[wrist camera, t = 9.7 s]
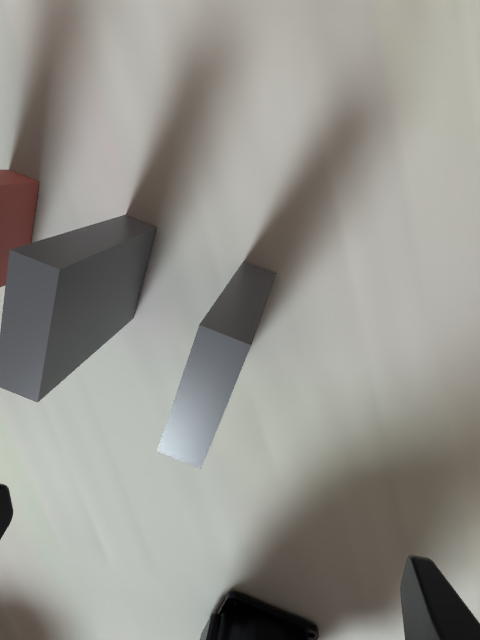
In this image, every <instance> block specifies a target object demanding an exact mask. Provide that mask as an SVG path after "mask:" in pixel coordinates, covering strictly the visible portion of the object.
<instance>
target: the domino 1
mask: <svg viewBox="0 0 480 640" xmlns="http://www.w3.org/2000/svg"><path fill="white" fill-rule="evenodd" d="M38 189H39V182H38V181H36V180H33V179H31V178H28V177H26V176H23V175H21V174H18V173H16V172H13V171H11V170H0V287H2V286H4V285H6V278H7V269H8V260H9V251H10V249H14V248H17V247H20V246H24V245H27V244H30V243H31V240H32V233H33V225H34V218H35V211H36V204H37V197H38Z"/></svg>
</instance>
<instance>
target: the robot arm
mask: <svg viewBox="0 0 480 640" xmlns="http://www.w3.org/2000/svg"><path fill="white" fill-rule="evenodd" d="M12 517H13V507H12V502H11V497H10V492H9V488H8V487H7V486H6V485H4V484H0V540H1V538H2V536H3V534H4V533H5V531H6V529H7V527H8V526H9V524H10V522H11V520H12ZM400 591H401V604H402V613H403V623H404V632H405V640H480V623H479V622H478V620H477V619H476V618H475V617H474V615H473V614H472V613H471V611H470V610H469V609H468V607H467V606H466V605H465V603H464V602H463V601H462V599H461V598H460V597H459V595H458V594H457V593H456V591H455V590H454V589H453V587H452V586H451V585H450V583H449V582H448V581H447V579H446V578H445V577H444V575H443V574H442V573H441V571H440V570H439V569H438V568H437V566H436V565H435V564H434V562H433V561H432V560H431V559H429V558H426V557H420V556H414V555H410V556H409V557H408V559H407V562H406V565H405V569H404V573H403V577H402V581H401V589H400ZM318 637H319V629H318V627H317V626H316V625H314V624H311V623H309V622H306V621H304V620H302V619H299V618H297V617H294V616H292V615H289V614H287V613H285V612H282V611H280V610H277V609H275V608H273V607H270V606H268V605H265V604H263V603H260V602H258V601H256V600H253V599H251V598H248V597H246V596H243V595H241V594H239V593H236V592H229V593H228V594H227V596H226V598H225V600H224V601H223V603H222V605H221V607H220V609H219V611H218V613H216V612H215V613H213V614H212V615H211V616H210V618H209V620H208V622H207V624H206V626H205V628H204V630H203V632H202V634H201V638H200V640H317V639H318Z"/></svg>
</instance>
